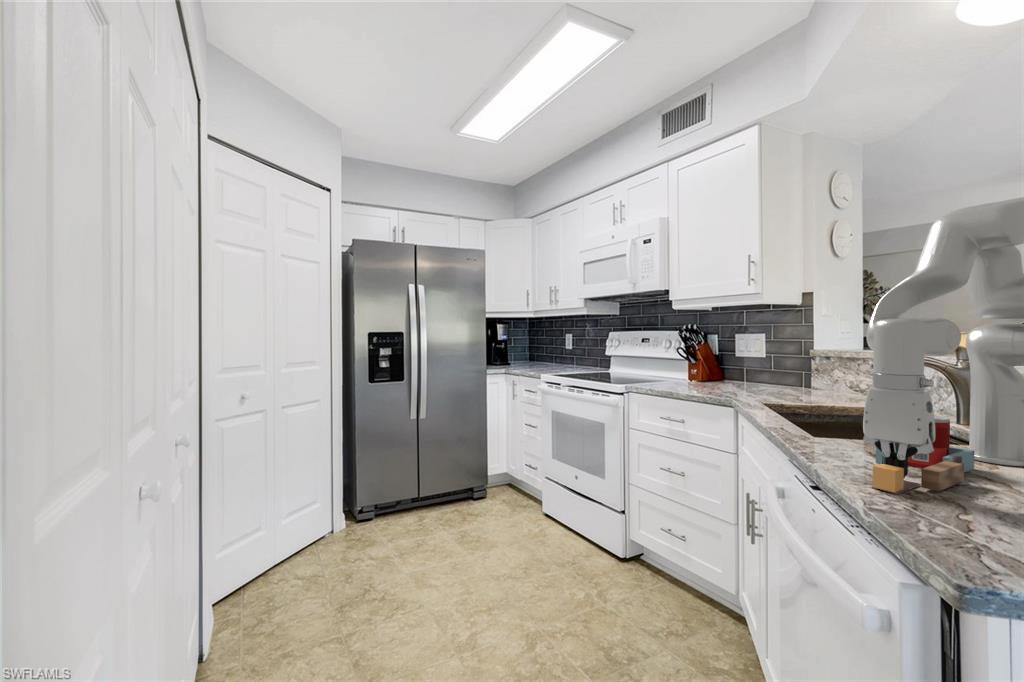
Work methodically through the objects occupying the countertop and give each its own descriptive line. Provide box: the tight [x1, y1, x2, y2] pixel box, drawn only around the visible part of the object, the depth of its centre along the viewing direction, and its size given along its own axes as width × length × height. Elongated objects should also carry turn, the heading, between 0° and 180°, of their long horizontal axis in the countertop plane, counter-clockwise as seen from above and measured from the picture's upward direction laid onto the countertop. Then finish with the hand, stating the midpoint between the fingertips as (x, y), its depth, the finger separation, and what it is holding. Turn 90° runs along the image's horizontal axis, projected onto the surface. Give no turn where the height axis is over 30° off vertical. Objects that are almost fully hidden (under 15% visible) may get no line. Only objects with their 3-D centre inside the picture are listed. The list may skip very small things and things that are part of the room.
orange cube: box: [872, 463, 905, 492], centre depth 87 cm, size 4×4×4 cm
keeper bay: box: [875, 443, 975, 473], centre depth 103 cm, size 13×13×4 cm
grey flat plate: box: [871, 479, 921, 495], centre depth 89 cm, size 10×4×1 cm, turn 119°
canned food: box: [908, 414, 951, 469], centre depth 103 cm, size 8×8×11 cm
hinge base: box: [954, 480, 970, 486], centre depth 92 cm, size 4×4×1 cm
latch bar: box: [920, 455, 965, 492], centre depth 89 cm, size 13×2×5 cm, turn 119°
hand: (896, 477), depth 89 cm, fingers closed
